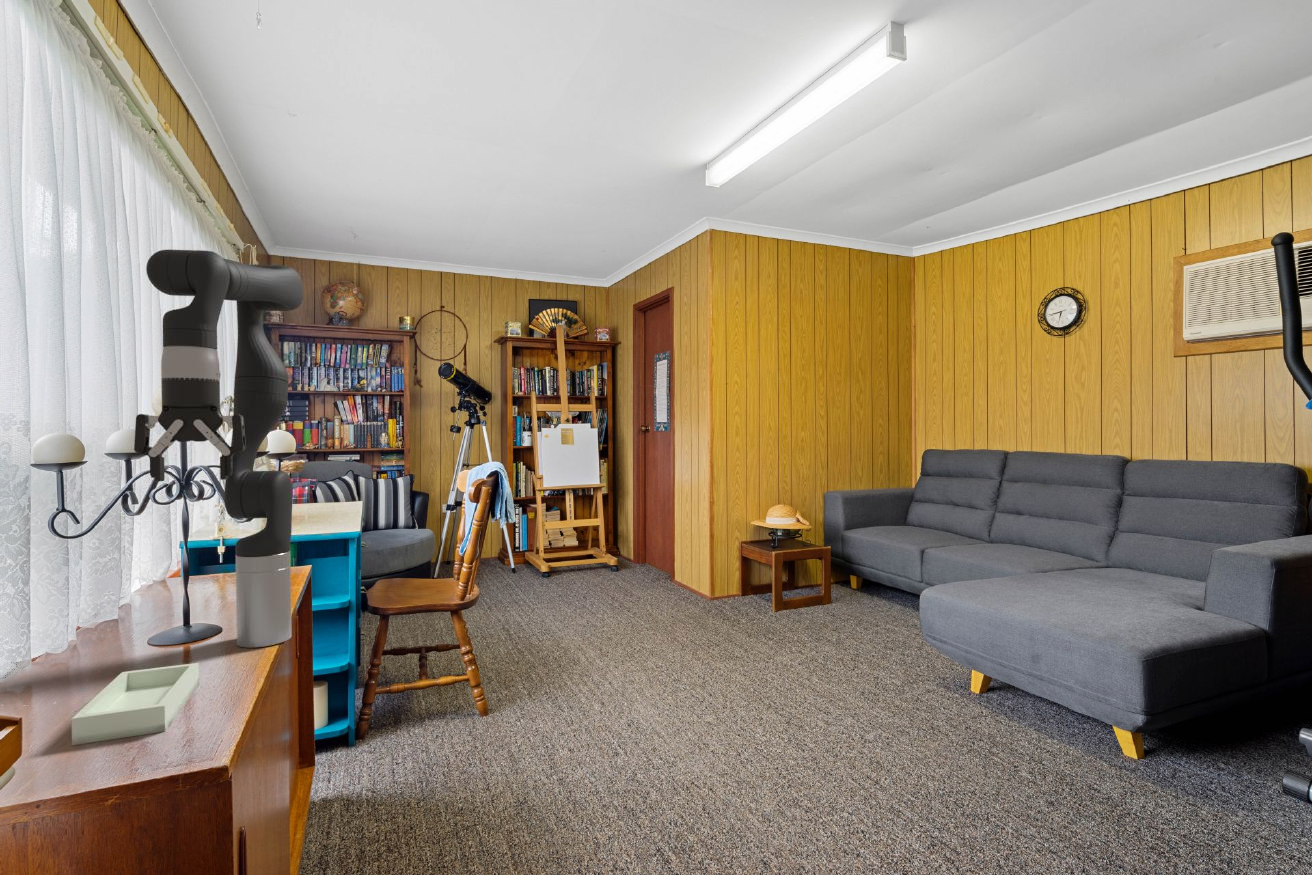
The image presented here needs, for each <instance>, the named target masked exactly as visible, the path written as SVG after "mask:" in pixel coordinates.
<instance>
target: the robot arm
mask: <svg viewBox="0 0 1312 875" xmlns="http://www.w3.org/2000/svg"><path fill="white" fill-rule="evenodd" d="M146 275H147V278H148V280H149V281H150V283H151V284H152V285H153V287H154V288H155V289H157V290H158V291H159V292H161V293H162V294H165V295H169V296H175V297H176V296H179V297H193V298H192V301H191V302H190V304H189V305H187V306H184V307H180V308H176V309H171V310H168V311H167V312H165V313H164V314H163V316H162V354H161V360H160V362H161V363H160V365H161V366H160V373H161V374H160V376H161V411H160V414H159V415H149V414H144V413H140V414H137V415H136V416H135V427H134V428H135V429H134V445H133V446H134V448H133V450H134V452H135V453H137V454H142V455H145V456H148V458H149V475H150V477H151V478H152V479H153V478H154V482H164V481H165V456H163V454H165V452H166V451H167V450H168V449H169V448H170V447H171V446H172V445H174V443H175V442H178V443H187V442H202V443H203V442H206V441H209V443H210V444H211V445H213V446H214V447H215V449H217V450H218V451H219V453H221V456H220V457H219V469H220V470H219V476H220V478H219V479H220V481H224V482H225V483H224V491H223V492H224V495H223V496H224V498H223V501H224V507H225V510H226V513H227V515H229V517H231V518H232V519H236V520H237V519H238V520H241V519H242V520H243V519H248V520H249V519H266V521H265V527H263V528H262V529H261V530H259V531H258V532H256V533H253V534H251V535H247V536H245V537H242V538H240V539H237V541H236V543H235V548H234V549H235V550H234V551H235V597H236V598H235V599H236V600H235V601H236V602H235V605H236V608H235V609H236V611H235V612H236V645H237V646H238V647H241V648H248V649H249V648H261V647H268V646H274V645H276V644H277V645H278V644H281V643H283V642H286V641H288V640H290V639H292V631H293V630H292V578H291V576H292V575H291V572H292V570H291V568H292V567H291V540H292V532H293V531H292V529H293V528H292V522H293V517H292V516H293V501H294V500H293V499H294V497H293V496H294V494H293V493H294V490H293V489H294V488H293V482H292V479H291V476H290V474H289V473H288V472H286V471H283V470H254V466H255V461H256V458H257V454H258V452H259V449H260V447H261V445H262V443H263V442H264V440H265V438H267V435H268V434H269V433H270V432H271V431H272V430H273V428H274V427H275V426H276V424H277V423H278V422H279V420H280V419H281V418H282V416H283V415H284V413H285V411H286V409H287V407H288V397H289V395H288V393H289V374H288V371H287V368H286V366H285V365H284V363H283V361H282V359H281V358H280V356H279V355H278V354H277V352H276V351H275V349H274V348H273V347H272V345H271V344H270V342H269V339H268V338H267V335H266V334H265V331H264V327H263V316H262V315H263V312H289V311H294V310H296V309H298V308H299V307H300V306H301V305H302V304H303V301H304V295H305V294H304V292H305V291H304V283H303V280H302V277H301V276H300V274H299V272H298V271H297V270H296V269H294V268H292V267H291V266H287V265H280V264H248V263H244V262H239V261H237V260H236V261H235V260H233V259H232V260H231V259H229V258H225V257H224V258H223V256H221V255H220V254H218V253H217V252H215V251H213V250H199V249H198V250H197V249H196V250H195V249H161V250H158V251H156V252H154V253H153V254H152V255H151V256H150V257H149V258H148V260H147V262H146ZM224 301H232V302H233V301H234V302H235V301H236V316H237V317H236V318H237V320H236V321H237V323H236V324H237V346H236V361H235V363H236V364H235V372H234V373H235V374H234V381H233V382H234V384H233V407H232V408H233V409H232V410H233V414H232V415H223V414H222V411H221V384H220V383H221V382H220V381H221V370H220V359H219V354H218V353H219V352H218V323H219V319H220V316H221V312H222V308H223V304H224ZM224 423H226V424H227V427H228V428H230V429H232V432H231V442H230V443H231V444H230V445H229V444H228V443H227V442H226V440H225V438H224V437H222V436H221V434H220V433H219V431H218V430H219V429H220V427H221V426H222V425H223V424H224ZM156 424H159V425H160V426H161V427H162V428H163V429H164V430H165V432H164V433H163V434H162V435H161V437H160V438H159V439H158V440H157V442H156V443H155V444H154V445H153V446H150V436H151V435H150V434H151V429H152V430H153V429H154V428H155V427H156Z"/></svg>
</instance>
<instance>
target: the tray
mask: <svg viewBox="0 0 1312 875" xmlns="http://www.w3.org/2000/svg"><path fill="white" fill-rule="evenodd" d="M199 686H200V662H195V663H194V662H193V663H186V664H179V665H178V664H177V665H171V666H170V665H169V666H161V667H153V668H144V669H136V670H135V669H134V670H129V671H122V672H120V674H118V675H117V676H116V677H115V678H114V679H112V681H111V682H110V683H108V684H107V686H105V687H104V688H103V689H102V690H101V691H100V692H98V694H97V695H96V696H94V697H93V698H92V699H91V700H90V701H89V702H87V704H85V706H84V707H82V708H81V709H80V710H79V711H78V712H77V713H76V714H75V715H74V716H73V717H71V745H72V746H77V745H83V744H84V745H85V744H90V743H97V742H98V743H99V742H104V741H110V740H117V739H124V738H130V737H136V736H138V737H139V736H142V735H143V736H144V735H149V734H150V735H151V734H154V733H155V734H156V733H163V732H166V731H167V730H168V729H169V727H170V725H171V724H172V723H173V722H174V720H175V718H176V717H177V715H179V713H180V712H181V710H182V709H183V708H184V707H185V705H186V703H187V702H188V700H190V698H191V697H192V695H193V694H194V692H195V691H196V689H197V688H198V687H199Z"/></svg>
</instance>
